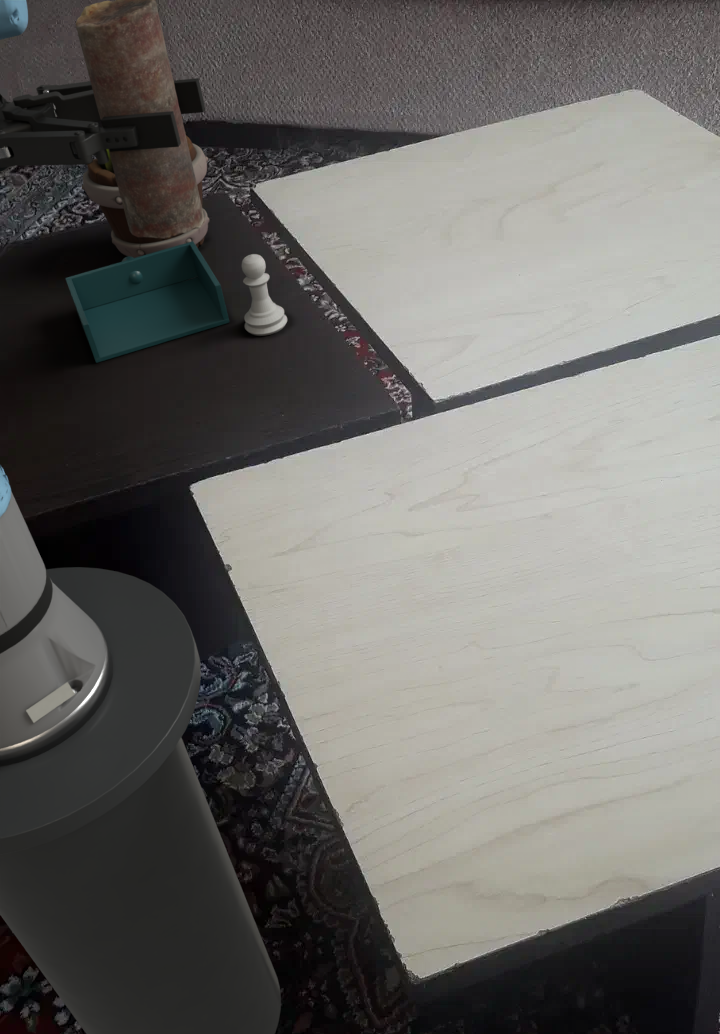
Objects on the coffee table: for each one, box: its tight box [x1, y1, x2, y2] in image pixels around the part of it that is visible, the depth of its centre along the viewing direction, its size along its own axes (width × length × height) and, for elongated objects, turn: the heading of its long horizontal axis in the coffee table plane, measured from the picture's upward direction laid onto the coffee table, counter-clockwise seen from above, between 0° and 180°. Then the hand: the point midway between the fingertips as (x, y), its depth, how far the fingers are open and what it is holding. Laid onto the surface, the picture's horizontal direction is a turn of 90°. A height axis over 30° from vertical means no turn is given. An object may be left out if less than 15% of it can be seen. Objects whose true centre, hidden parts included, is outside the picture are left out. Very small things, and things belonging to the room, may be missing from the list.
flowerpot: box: [81, 116, 210, 258], centre depth 126 cm, size 14×15×20 cm
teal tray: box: [65, 241, 230, 364], centre depth 120 cm, size 17×15×4 cm
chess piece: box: [241, 253, 288, 337], centre depth 113 cm, size 5×5×8 cm
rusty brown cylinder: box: [75, 0, 205, 239], centre depth 97 cm, size 8×7×20 cm
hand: (188, 111), depth 95 cm, fingers closed on rusty brown cylinder, 7 cm apart
